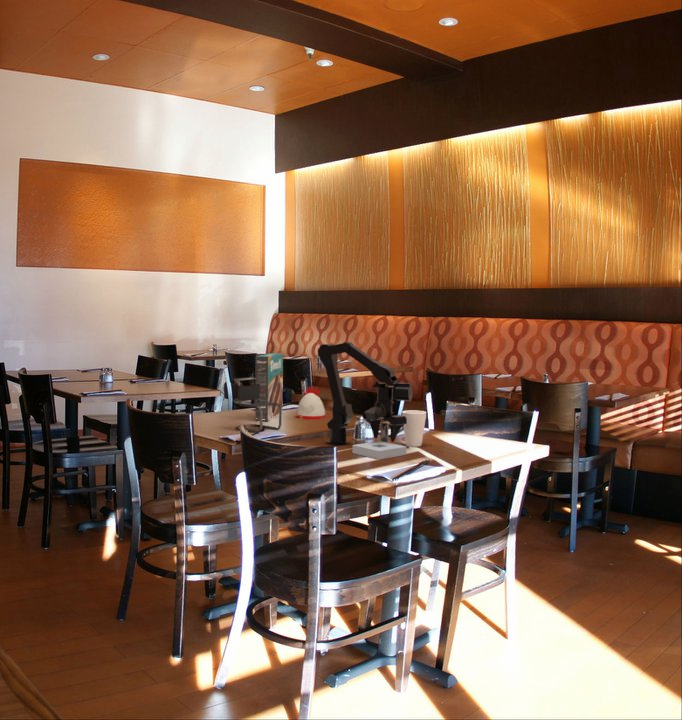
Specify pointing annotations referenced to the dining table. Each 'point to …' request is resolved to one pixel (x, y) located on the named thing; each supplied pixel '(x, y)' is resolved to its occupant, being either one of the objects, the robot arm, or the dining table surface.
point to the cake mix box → (269, 384)
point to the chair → (251, 394)
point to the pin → (384, 432)
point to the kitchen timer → (311, 405)
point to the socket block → (379, 450)
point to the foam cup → (414, 427)
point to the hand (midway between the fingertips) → (384, 440)
